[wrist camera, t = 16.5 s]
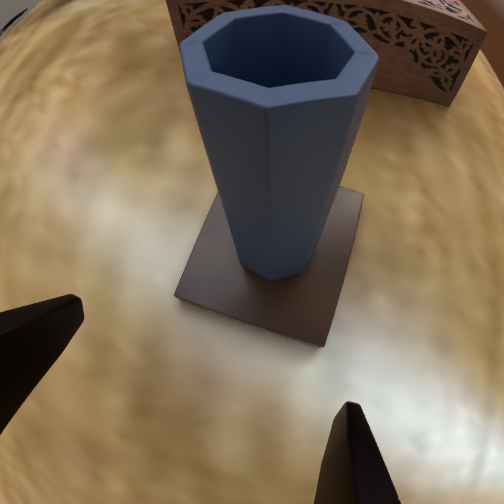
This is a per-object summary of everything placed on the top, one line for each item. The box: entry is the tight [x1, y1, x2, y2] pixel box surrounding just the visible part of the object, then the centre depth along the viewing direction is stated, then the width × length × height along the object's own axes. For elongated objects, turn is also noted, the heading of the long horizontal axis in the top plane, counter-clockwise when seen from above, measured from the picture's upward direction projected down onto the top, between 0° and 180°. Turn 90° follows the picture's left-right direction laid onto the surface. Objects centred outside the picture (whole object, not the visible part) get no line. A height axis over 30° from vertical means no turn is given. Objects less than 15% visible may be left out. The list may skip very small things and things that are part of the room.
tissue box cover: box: [166, 0, 487, 107], centre depth 22 cm, size 26×14×10 cm, turn 83°
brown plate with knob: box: [174, 186, 364, 348], centre depth 17 cm, size 10×9×4 cm
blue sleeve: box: [179, 5, 379, 281], centre depth 12 cm, size 5×5×13 cm
